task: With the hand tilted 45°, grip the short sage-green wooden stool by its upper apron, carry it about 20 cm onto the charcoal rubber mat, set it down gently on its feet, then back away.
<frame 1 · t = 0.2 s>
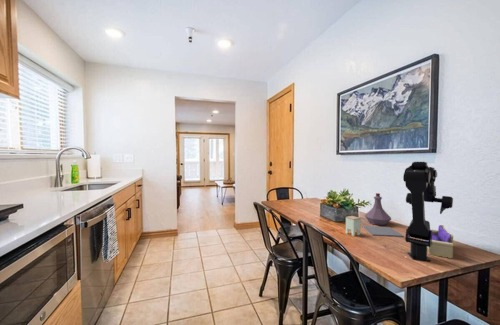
hand: (429, 211, 119), 15 cm above the table, tool tilted 35°, fingers open, 9 cm apart
mat: (381, 231, 132), on the table
flask: (377, 223, 150), on the table
stool: (352, 233, 128), on the table
toy sofa: (435, 249, 107), on the table
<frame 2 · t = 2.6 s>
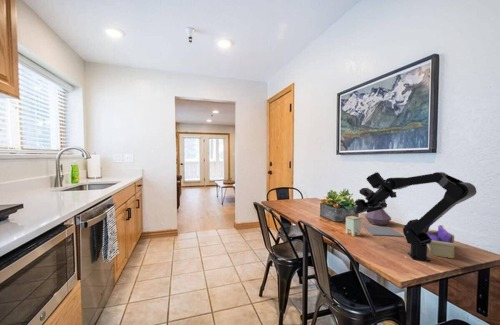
hand: (361, 212, 123), 13 cm above the table, tool tilted 45°, fingers open, 9 cm apart
nothing on the table moved.
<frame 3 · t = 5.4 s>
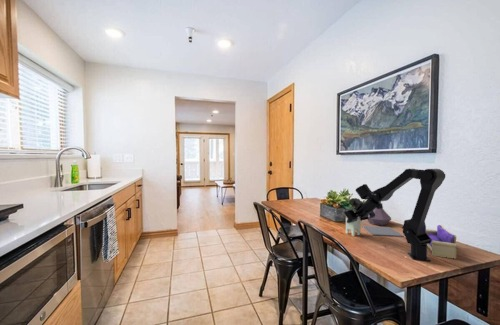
hand: (350, 221, 129), 7 cm above the table, tool tilted 45°, fingers closed on stool, 5 cm apart
stool: (352, 233, 128), on the table, touching gripper
everything else where it was.
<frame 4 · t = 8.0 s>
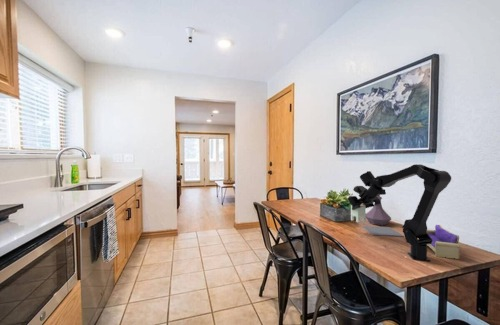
hand: (356, 209, 131), 14 cm above the table, tool tilted 45°, fingers closed on stool, 5 cm apart
stool: (357, 220, 130), point 7 cm above the table, touching gripper
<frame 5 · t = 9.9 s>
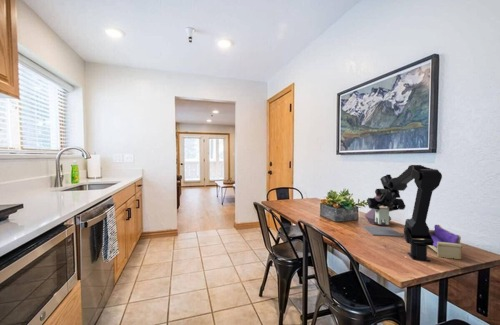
hand: (380, 211, 133), 12 cm above the table, tool tilted 45°, fingers closed on stool, 5 cm apart
stool: (381, 223, 132), point 5 cm above the table, touching gripper
when the fingers open (8 cm above the table, at t = 11.0 s): stool stays where it is, resting on mat.
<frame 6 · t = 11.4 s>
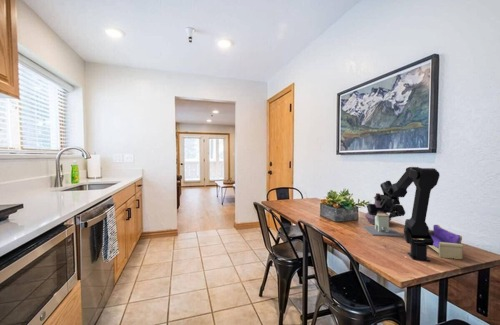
hand: (380, 217, 134), 8 cm above the table, tool tilted 45°, fingers open, 9 cm apart
stool: (381, 230, 132), point 1 cm above the table, touching mat
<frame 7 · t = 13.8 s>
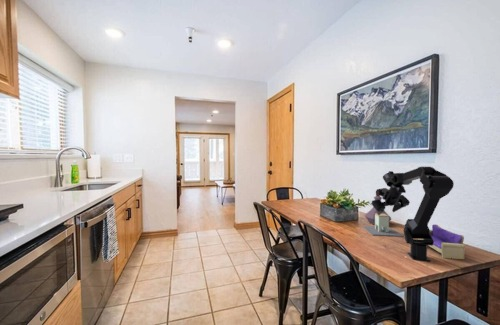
hand: (385, 213, 126), 13 cm above the table, tool tilted 35°, fingers open, 9 cm apart
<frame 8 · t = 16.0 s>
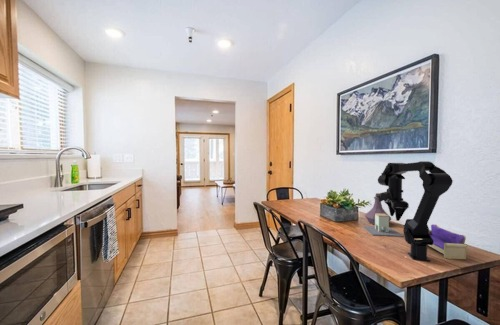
hand: (394, 218, 113), 13 cm above the table, tool pointing down, fingers open, 9 cm apart
at the end: stool inside the target area on the mat (0.1 cm from its centre), point 0.6 cm above the mat's base; stool tilted 0°; the gripper is holding nothing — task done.
